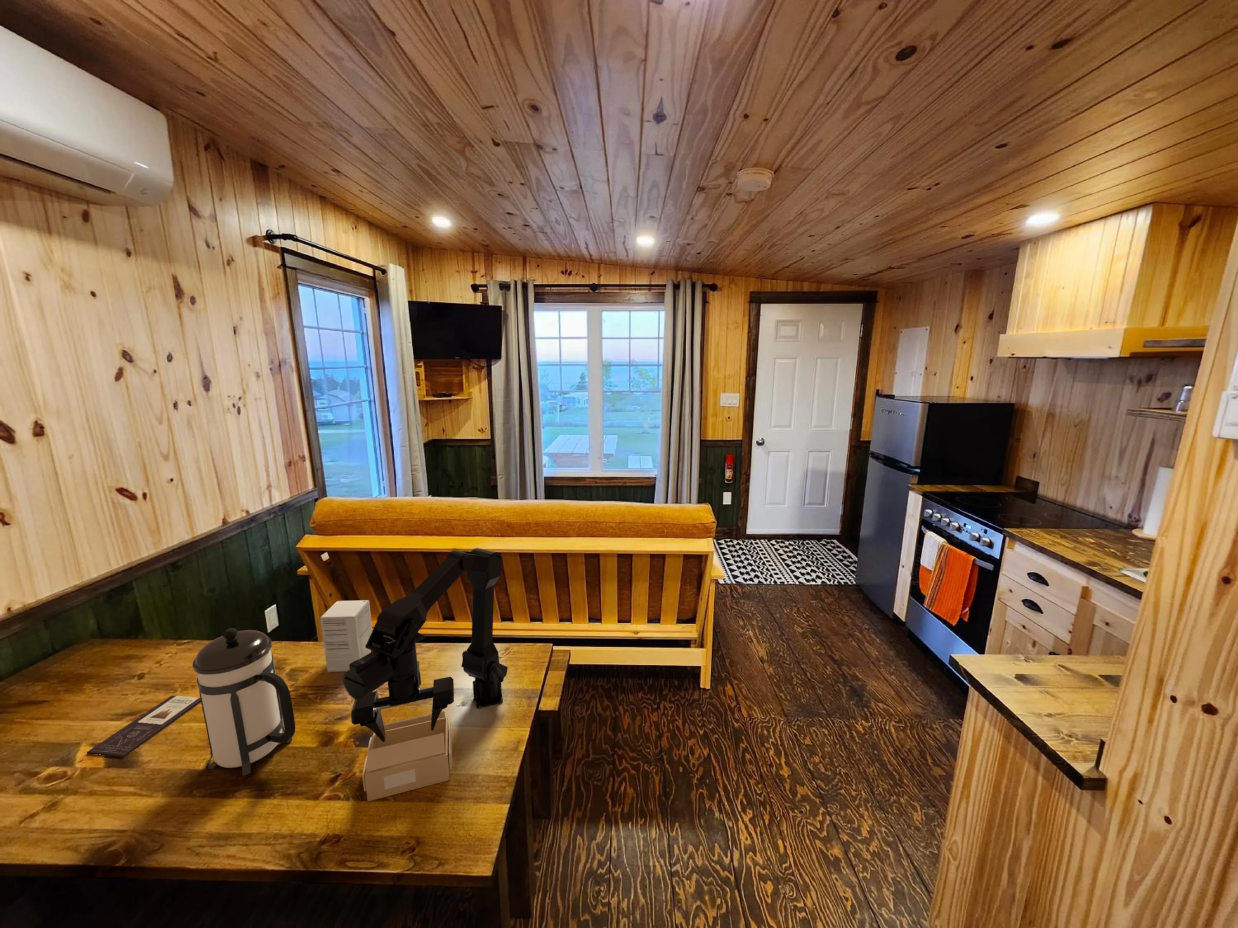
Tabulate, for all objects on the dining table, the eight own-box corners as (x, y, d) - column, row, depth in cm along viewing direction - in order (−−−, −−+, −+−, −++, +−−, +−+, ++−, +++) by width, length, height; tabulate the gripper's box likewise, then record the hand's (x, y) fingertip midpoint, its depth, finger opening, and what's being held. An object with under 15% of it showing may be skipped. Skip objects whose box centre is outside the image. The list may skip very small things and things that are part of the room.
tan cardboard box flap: (445, 717, 105) (445, 715, 105) (444, 712, 102) (444, 710, 102) (375, 732, 100) (375, 731, 100) (372, 727, 98) (372, 726, 98)
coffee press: (194, 798, 91) (165, 661, 85) (217, 741, 105) (194, 620, 99) (300, 765, 99) (281, 637, 93) (309, 716, 113) (292, 602, 107)
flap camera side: (367, 771, 91) (367, 771, 90) (368, 750, 92) (367, 750, 92) (444, 752, 95) (444, 752, 95) (443, 732, 96) (443, 732, 96)
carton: (452, 738, 107) (450, 715, 106) (452, 779, 96) (450, 754, 95) (373, 756, 102) (370, 733, 100) (364, 802, 91) (361, 776, 90)
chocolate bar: (86, 751, 102) (171, 695, 119) (87, 755, 102) (172, 698, 119) (123, 755, 101) (203, 697, 118) (124, 759, 101) (204, 701, 119)
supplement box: (343, 652, 139) (336, 599, 135) (375, 650, 139) (370, 598, 136) (326, 672, 129) (318, 617, 126) (361, 671, 130) (354, 615, 127)
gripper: (451, 637, 105) (455, 698, 108) (357, 653, 99) (365, 718, 102) (451, 667, 94) (456, 734, 98) (346, 687, 88) (355, 757, 91)
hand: (408, 734), depth 97 cm, fingers open, 9 cm apart
